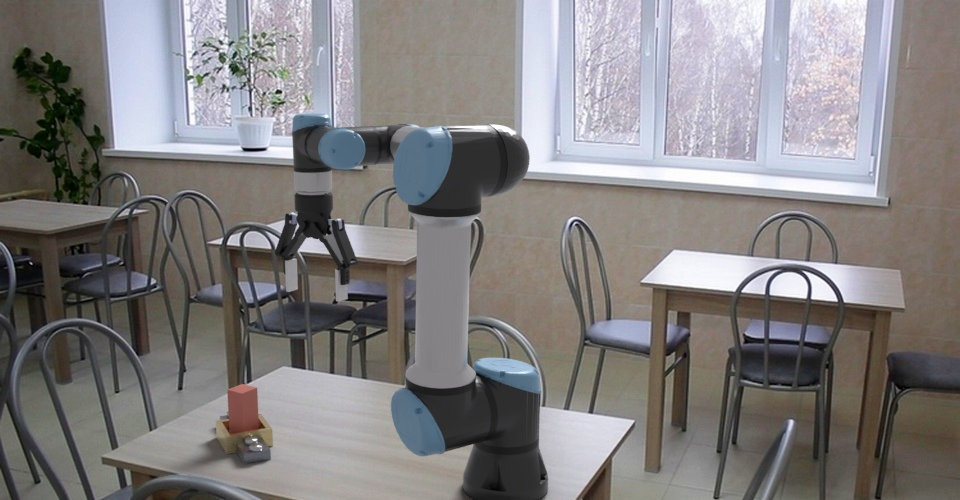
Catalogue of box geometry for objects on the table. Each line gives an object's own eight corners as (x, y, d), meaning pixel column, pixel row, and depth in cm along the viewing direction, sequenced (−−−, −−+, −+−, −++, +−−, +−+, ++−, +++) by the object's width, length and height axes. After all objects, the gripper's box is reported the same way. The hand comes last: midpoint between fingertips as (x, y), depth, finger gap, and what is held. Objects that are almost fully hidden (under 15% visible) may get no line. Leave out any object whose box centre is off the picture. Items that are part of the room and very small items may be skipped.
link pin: (259, 440, 194) (257, 387, 192) (244, 447, 191) (242, 393, 189) (244, 436, 196) (242, 383, 194) (229, 442, 193) (227, 389, 191)
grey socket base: (281, 457, 186) (280, 440, 185) (233, 466, 182) (233, 448, 181) (253, 419, 205) (253, 403, 204) (210, 426, 201) (209, 410, 200)
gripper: (374, 195, 192) (375, 300, 196) (281, 184, 205) (285, 283, 210) (348, 199, 186) (351, 308, 190) (255, 188, 199) (259, 290, 203)
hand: (316, 295), depth 200 cm, fingers open, 13 cm apart
